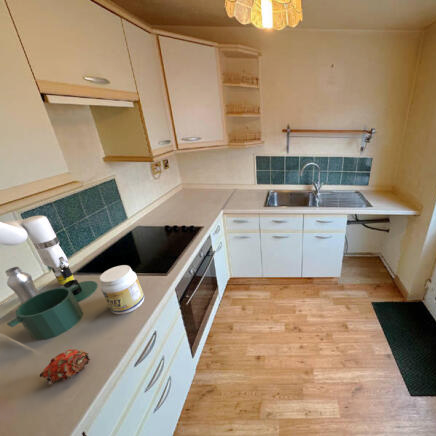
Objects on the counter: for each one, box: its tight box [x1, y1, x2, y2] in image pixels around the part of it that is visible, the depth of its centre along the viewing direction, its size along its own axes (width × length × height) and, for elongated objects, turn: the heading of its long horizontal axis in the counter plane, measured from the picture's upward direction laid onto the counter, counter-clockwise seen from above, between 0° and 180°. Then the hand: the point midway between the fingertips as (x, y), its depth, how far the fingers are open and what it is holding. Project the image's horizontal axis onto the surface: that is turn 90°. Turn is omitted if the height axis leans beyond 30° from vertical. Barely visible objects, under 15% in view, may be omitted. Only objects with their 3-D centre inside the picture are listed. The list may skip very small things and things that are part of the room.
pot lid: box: [64, 279, 99, 303], centre depth 103 cm, size 16×16×7 cm
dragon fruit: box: [39, 349, 91, 386], centre depth 71 cm, size 8×8×12 cm
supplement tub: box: [99, 264, 145, 315], centre depth 94 cm, size 12×12×17 cm
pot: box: [6, 284, 84, 341], centre depth 87 cm, size 15×20×12 cm
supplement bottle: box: [53, 265, 76, 287], centre depth 109 cm, size 5×5×10 cm
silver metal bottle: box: [4, 266, 41, 305], centre depth 93 cm, size 6×7×20 cm
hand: (64, 275), depth 109 cm, fingers closed on supplement bottle, 5 cm apart
